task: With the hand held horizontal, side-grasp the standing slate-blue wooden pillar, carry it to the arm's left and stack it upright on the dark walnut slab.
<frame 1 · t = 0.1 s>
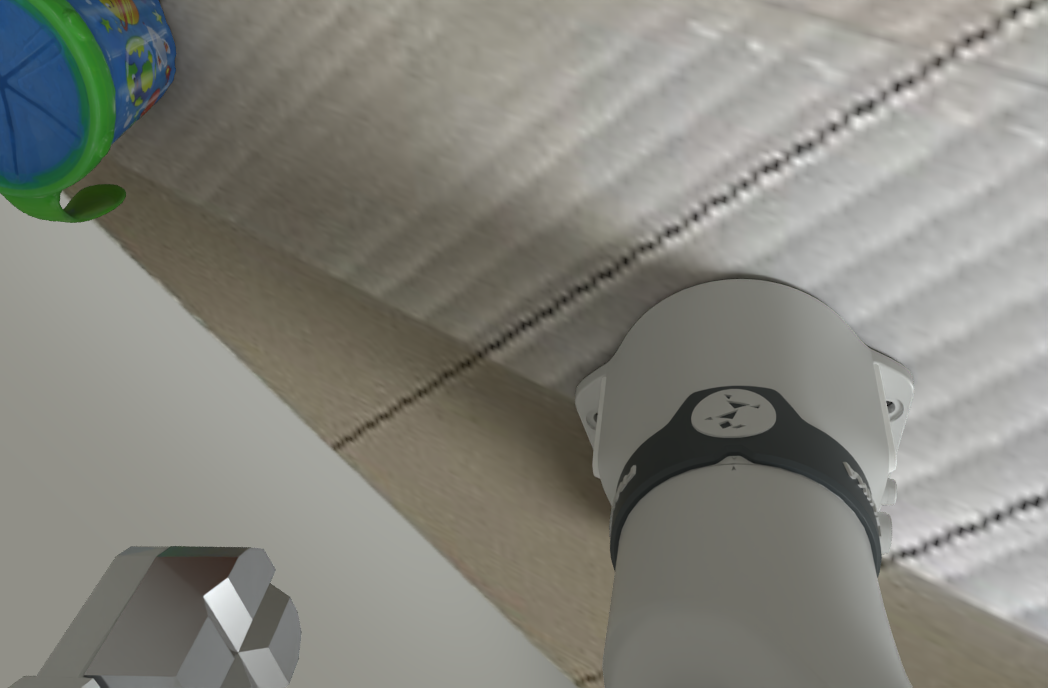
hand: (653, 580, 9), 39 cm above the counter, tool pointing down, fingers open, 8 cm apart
snack cup: (117, 35, 49), on the counter
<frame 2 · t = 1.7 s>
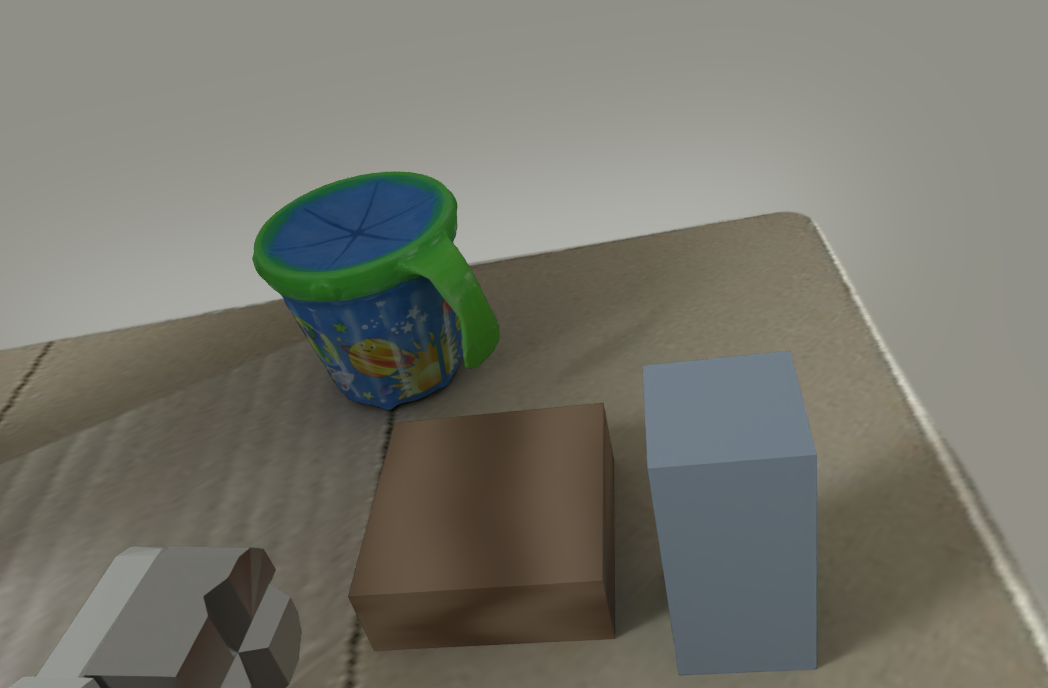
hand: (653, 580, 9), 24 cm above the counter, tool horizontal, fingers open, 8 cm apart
walnut base: (504, 553, 41), on the counter
pillar: (739, 615, 36), on the counter
snack cup: (404, 373, 53), on the counter
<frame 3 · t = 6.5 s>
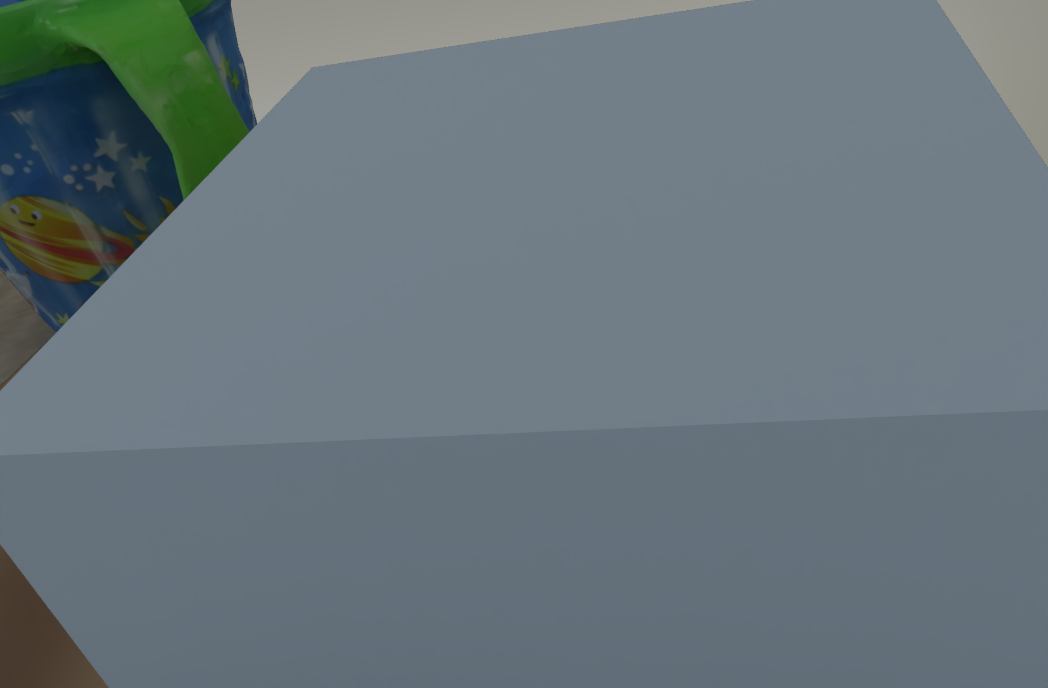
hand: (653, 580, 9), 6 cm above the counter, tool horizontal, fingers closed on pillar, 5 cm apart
walnut base: (186, 662, 18), on the counter
snack cup: (178, 296, 30), on the counter
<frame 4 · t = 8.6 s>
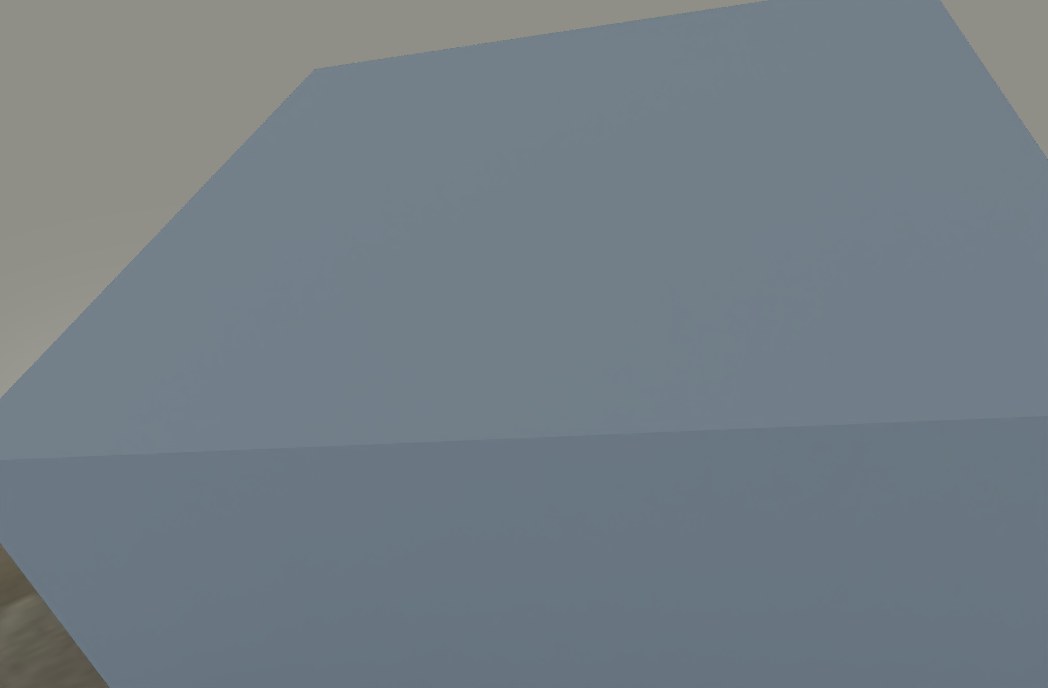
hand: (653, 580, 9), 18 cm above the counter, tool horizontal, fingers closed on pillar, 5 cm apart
when the fingers open (11 cm above the counter, at t = 10.6 s): pillar drops 2 cm, resting on walnut base.
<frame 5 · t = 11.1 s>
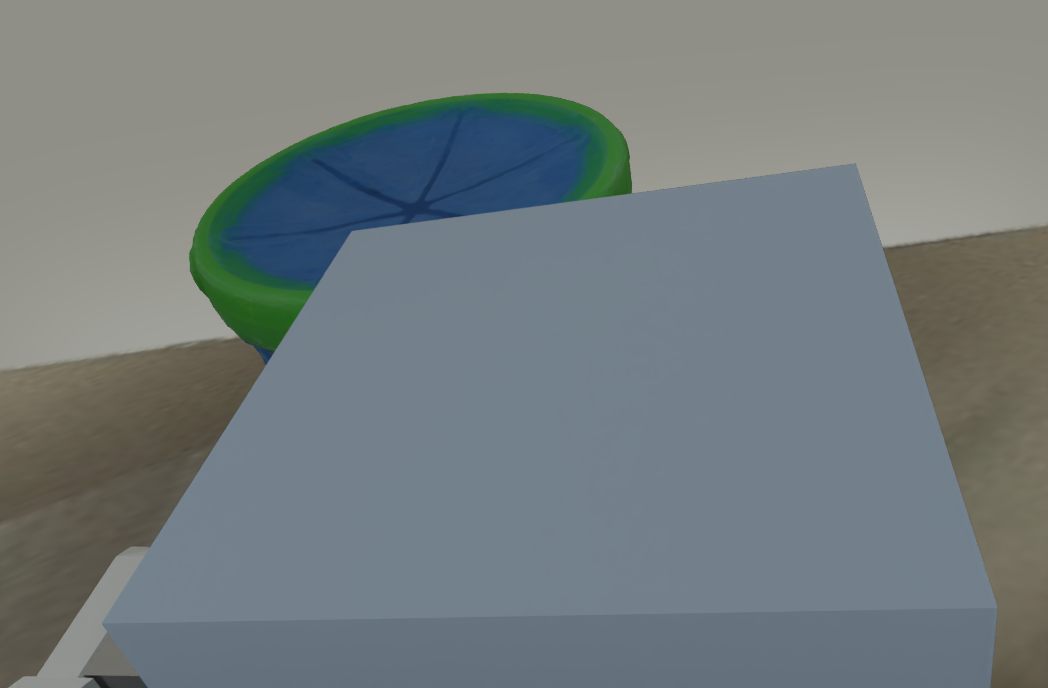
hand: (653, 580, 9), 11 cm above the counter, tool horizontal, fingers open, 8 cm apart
snack cup: (497, 487, 28), on the counter
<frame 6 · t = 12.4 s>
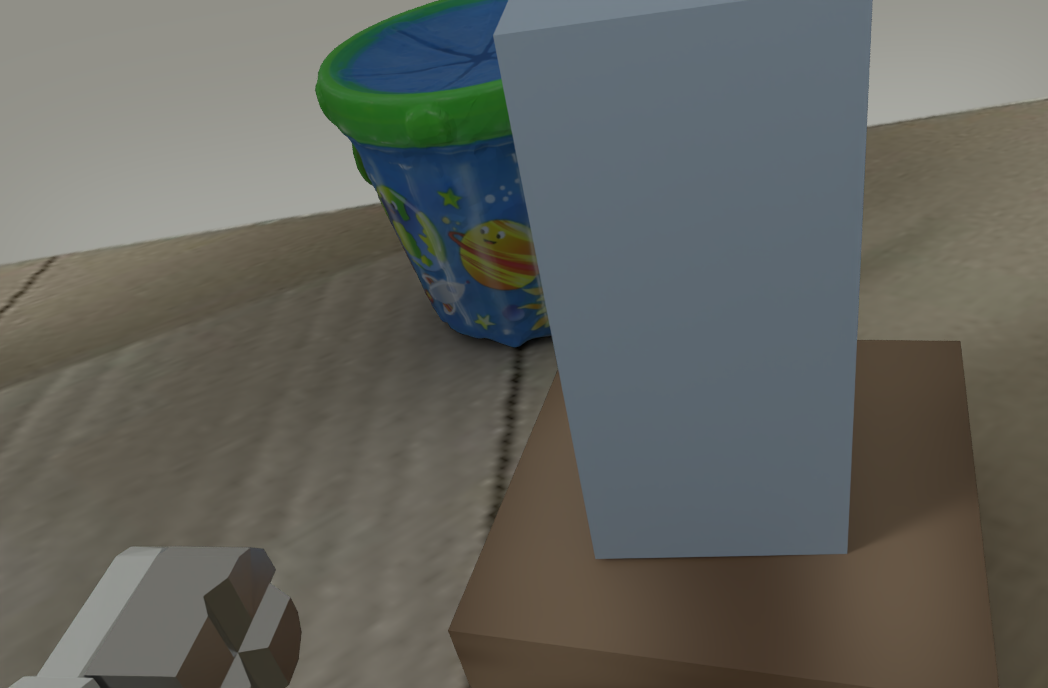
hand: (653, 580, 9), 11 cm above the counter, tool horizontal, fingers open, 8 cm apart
walnut base: (741, 588, 23), on the counter
pillar: (712, 468, 21), point 4 cm above the counter
snack cup: (536, 299, 35), on the counter
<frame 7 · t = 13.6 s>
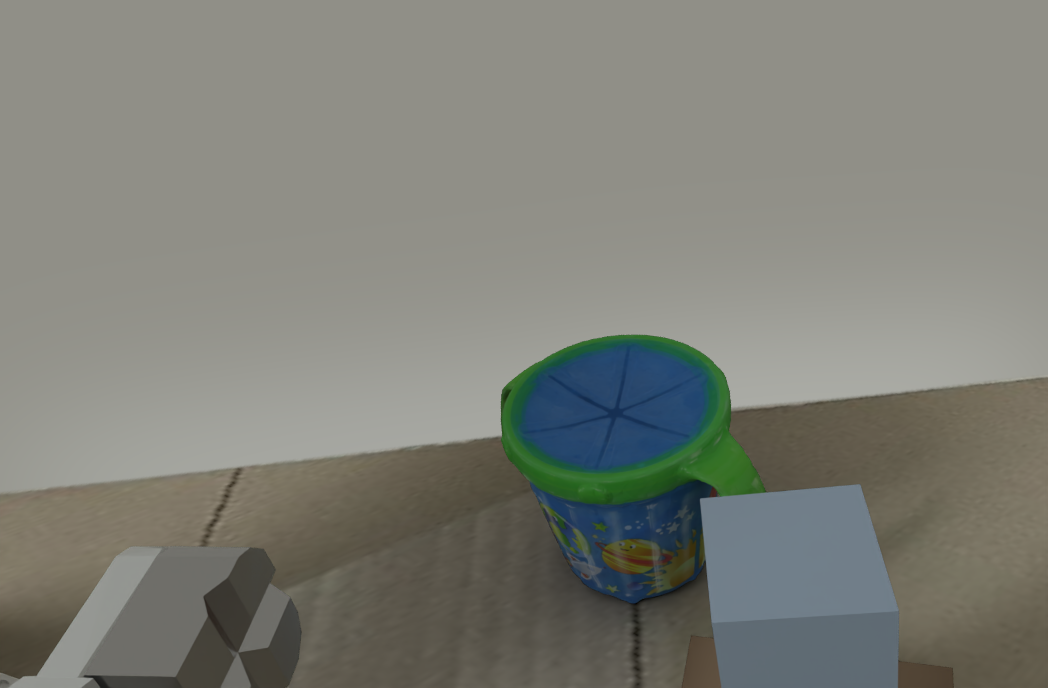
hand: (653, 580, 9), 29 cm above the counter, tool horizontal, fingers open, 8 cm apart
snack cup: (640, 552, 48), on the counter
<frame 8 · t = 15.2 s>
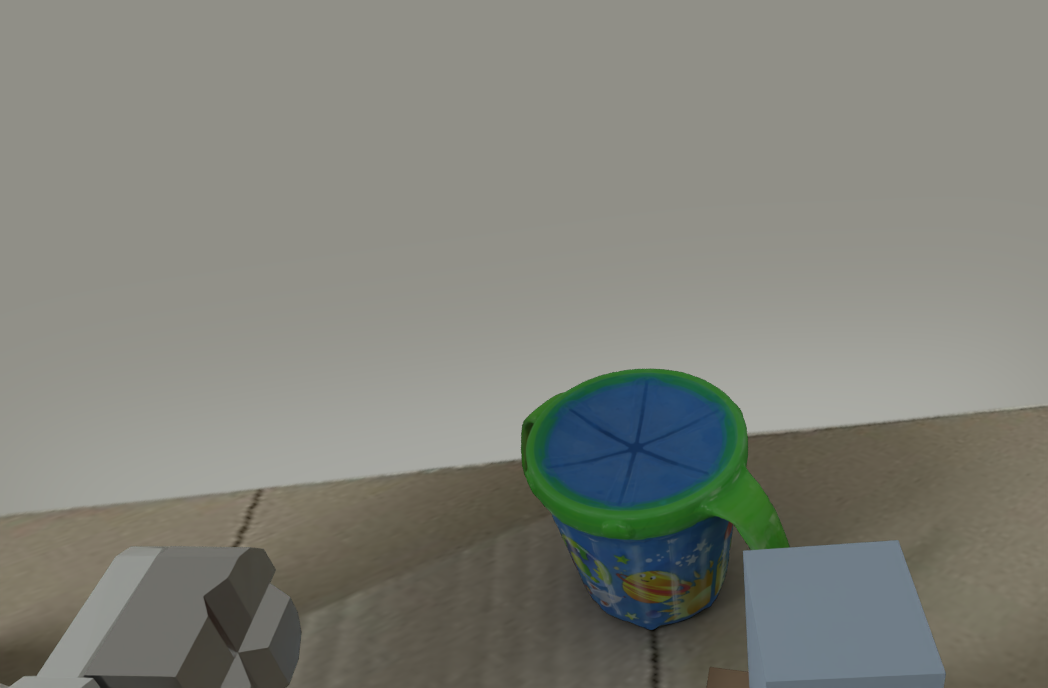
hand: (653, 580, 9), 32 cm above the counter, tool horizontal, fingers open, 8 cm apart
snack cup: (657, 578, 49), on the counter
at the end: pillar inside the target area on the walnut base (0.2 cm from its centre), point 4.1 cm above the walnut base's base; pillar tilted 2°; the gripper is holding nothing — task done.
